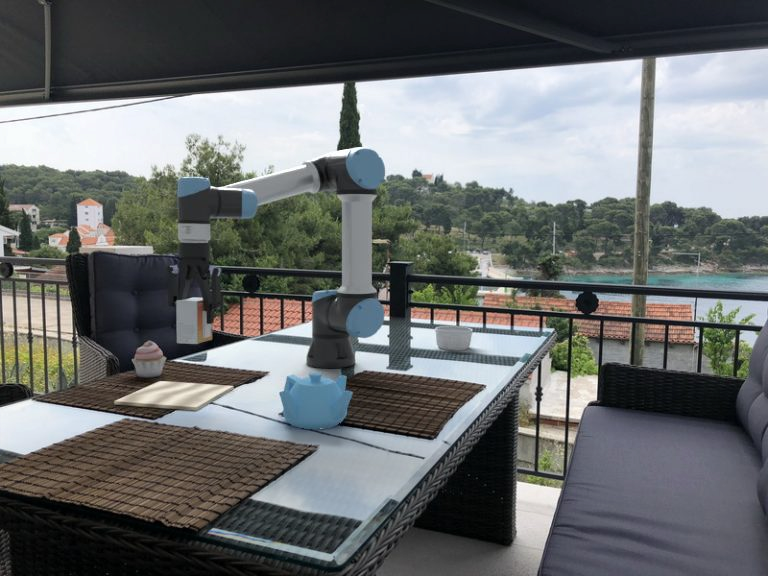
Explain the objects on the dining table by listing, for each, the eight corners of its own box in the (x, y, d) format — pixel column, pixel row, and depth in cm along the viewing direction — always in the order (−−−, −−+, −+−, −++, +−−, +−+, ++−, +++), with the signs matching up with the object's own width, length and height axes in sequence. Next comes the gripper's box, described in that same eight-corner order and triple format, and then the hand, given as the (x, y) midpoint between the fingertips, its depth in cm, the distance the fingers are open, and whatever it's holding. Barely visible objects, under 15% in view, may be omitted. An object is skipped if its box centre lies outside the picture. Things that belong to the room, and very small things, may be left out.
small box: (197, 344, 151) (197, 301, 150) (176, 343, 152) (175, 300, 151) (213, 339, 159) (212, 297, 158) (192, 338, 160) (192, 296, 159)
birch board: (233, 388, 165) (233, 385, 165) (196, 410, 146) (196, 407, 146) (160, 383, 169) (160, 380, 169) (114, 404, 150) (114, 401, 150)
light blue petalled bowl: (349, 410, 148) (349, 365, 147) (352, 431, 133) (353, 381, 132) (283, 412, 146) (282, 366, 145) (279, 433, 131) (279, 382, 130)
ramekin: (471, 345, 231) (472, 326, 231) (472, 352, 218) (473, 332, 218) (435, 343, 233) (435, 325, 232) (434, 350, 220) (434, 331, 219)
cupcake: (129, 380, 173) (128, 344, 172) (133, 372, 182) (132, 338, 181) (165, 378, 175) (165, 342, 174) (168, 370, 184) (167, 337, 183)
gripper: (150, 241, 152) (152, 336, 154) (222, 242, 148) (223, 340, 150) (167, 240, 159) (168, 331, 161) (236, 242, 155) (236, 335, 157)
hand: (194, 336), depth 156 cm, fingers closed on small box, 6 cm apart
